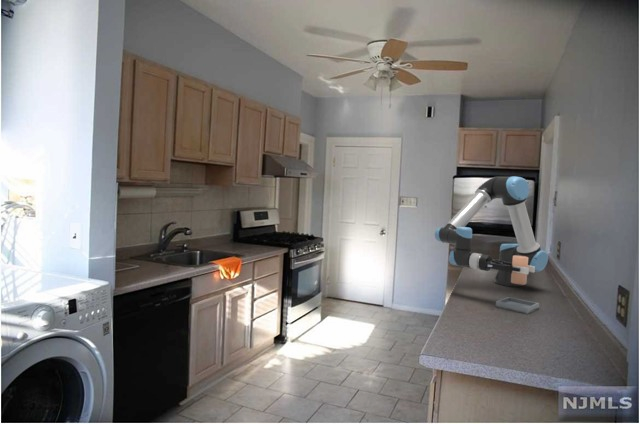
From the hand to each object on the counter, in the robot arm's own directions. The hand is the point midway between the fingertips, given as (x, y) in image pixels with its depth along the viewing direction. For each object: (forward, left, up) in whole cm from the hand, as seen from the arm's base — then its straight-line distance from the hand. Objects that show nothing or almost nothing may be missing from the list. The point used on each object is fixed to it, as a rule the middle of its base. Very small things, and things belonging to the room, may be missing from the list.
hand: (531, 270), depth 196 cm
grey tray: (0, -5, -18) cm, 19 cm away
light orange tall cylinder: (0, -5, -7) cm, 8 cm away
